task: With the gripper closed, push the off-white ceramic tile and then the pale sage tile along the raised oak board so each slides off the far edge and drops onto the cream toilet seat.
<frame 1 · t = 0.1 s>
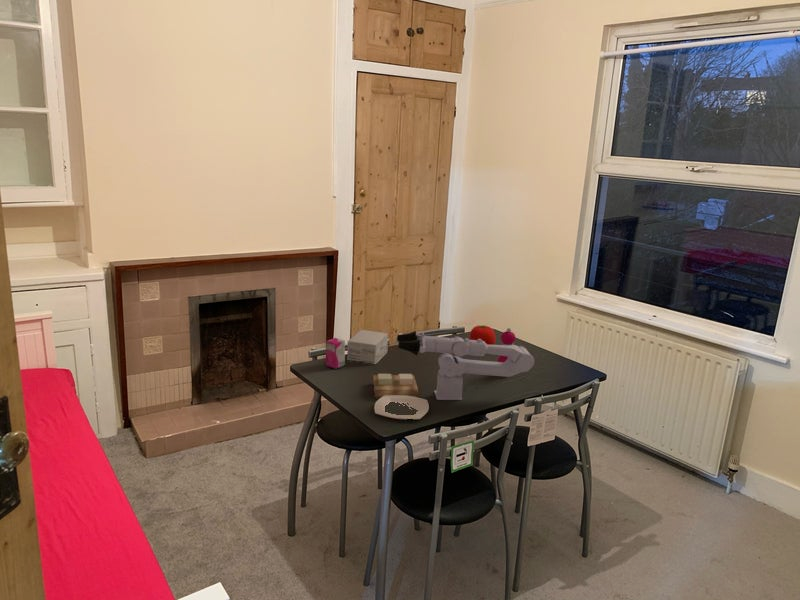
hand: (397, 341, 219), 22 cm above the table, tool horizontal, fingers open, 7 cm apart
pepper mill: (504, 373, 251), on the table
white tile: (405, 382, 229), point 3 cm above the table, touching oak board
oak board: (394, 390, 229), on the table
supplement box 2: (367, 357, 264), on the table
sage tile: (384, 382, 228), point 3 cm above the table, touching oak board
cream toilet seat: (401, 411, 213), on the table
tomato: (481, 348, 281), on the table
supplement box: (335, 366, 251), on the table
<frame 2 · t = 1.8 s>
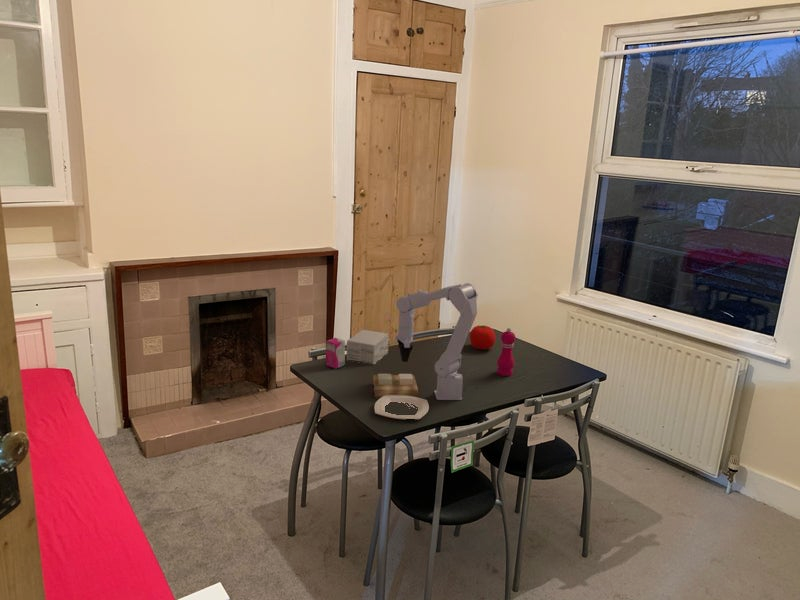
hand: (404, 358, 235), 10 cm above the table, tool pointing down, fingers open, 5 cm apart
nothing on the table moved.
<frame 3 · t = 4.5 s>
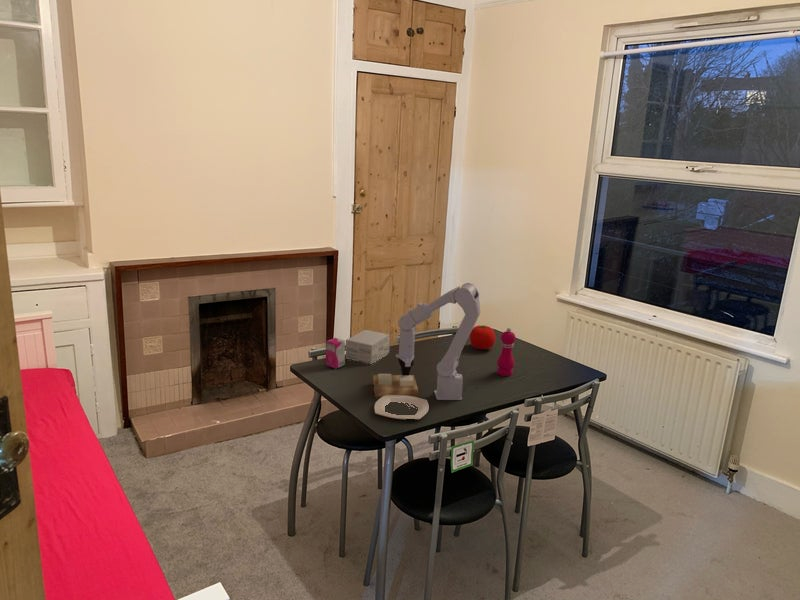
hand: (405, 377, 230), 5 cm above the table, tool pointing down, fingers closed
white tile: (406, 383, 227), point 4 cm above the table, touching gripper
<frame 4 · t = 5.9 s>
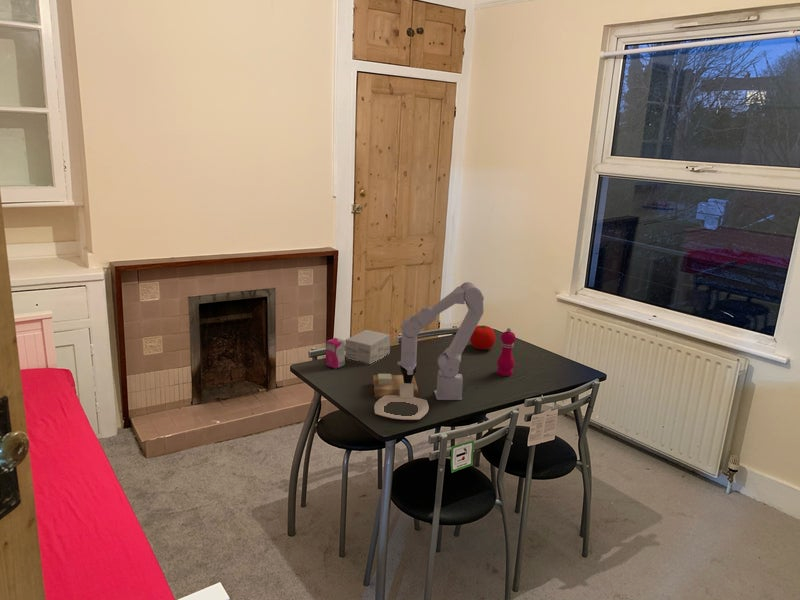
hand: (407, 385, 223), 5 cm above the table, tool pointing down, fingers closed
white tile: (406, 392, 221), point 3 cm above the table, tilted 33°, touching gripper, cream toilet seat
cream toilet seat: (401, 411, 213), on the table, touching white tile
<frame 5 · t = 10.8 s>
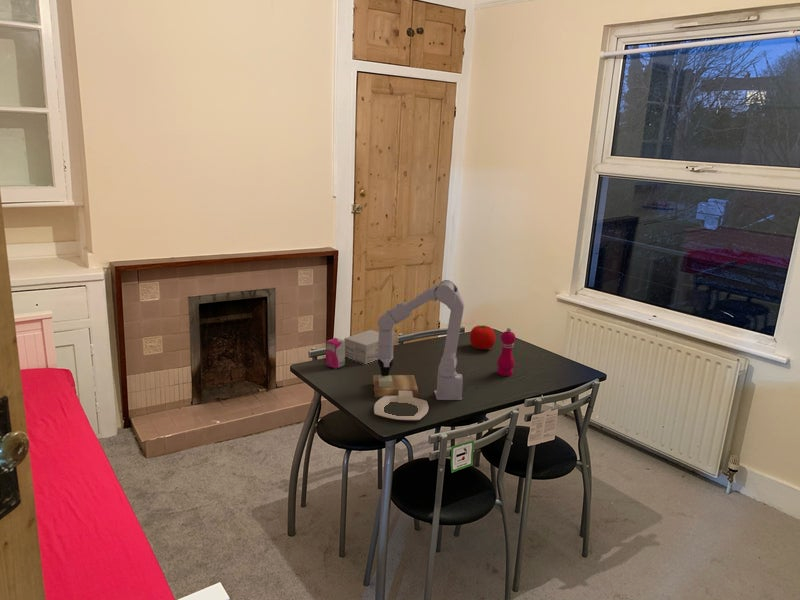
hand: (384, 377, 229), 5 cm above the table, tool pointing down, fingers closed
white tile: (405, 399, 218), point 1 cm above the table, touching cream toilet seat
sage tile: (385, 384, 226), point 4 cm above the table
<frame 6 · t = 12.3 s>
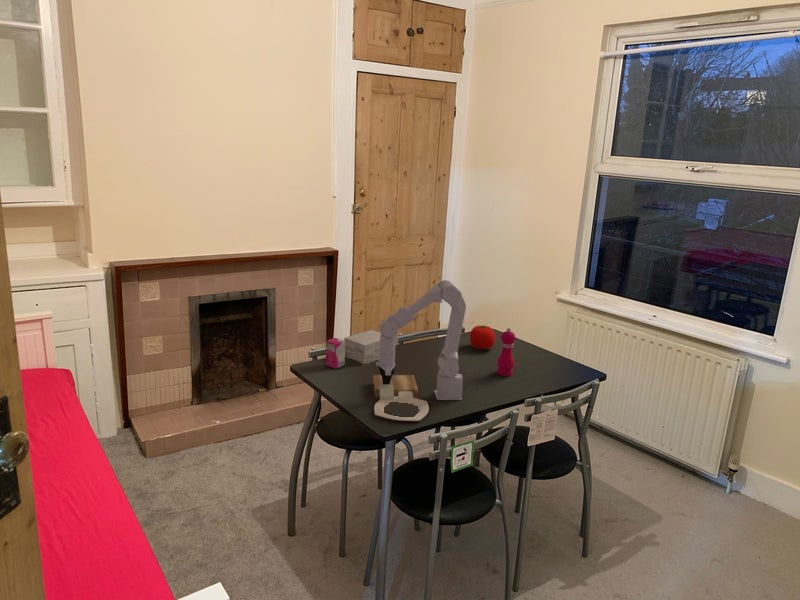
hand: (386, 386, 221), 5 cm above the table, tool pointing down, fingers closed
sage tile: (386, 393, 220), point 3 cm above the table, tilted 29°, touching gripper
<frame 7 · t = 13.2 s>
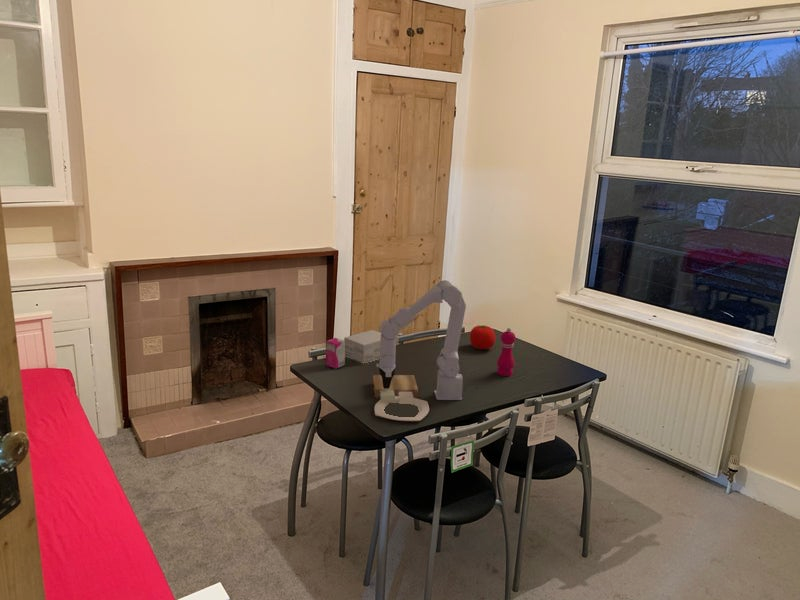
hand: (386, 387, 220), 5 cm above the table, tool pointing down, fingers closed
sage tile: (387, 398, 218), point 1 cm above the table, touching cream toilet seat
cream toilet seat: (401, 413, 212), on the table, touching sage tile, white tile
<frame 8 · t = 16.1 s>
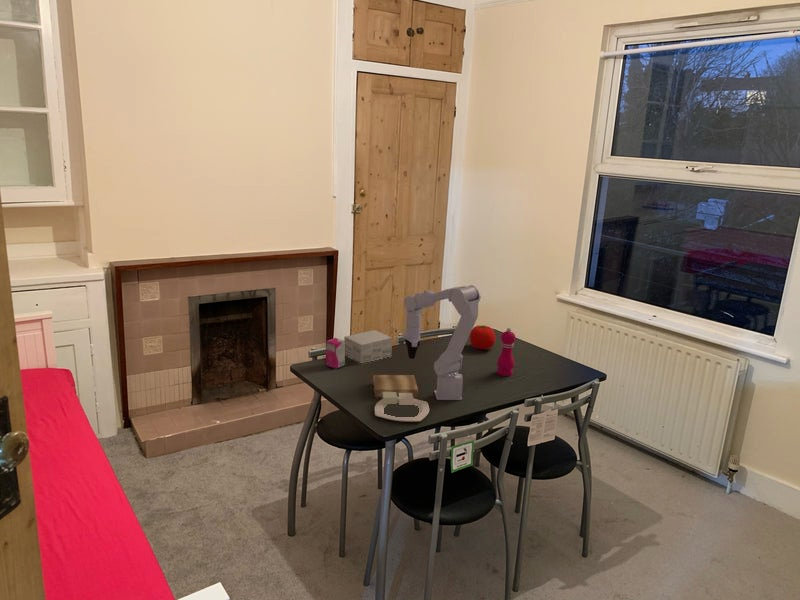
hand: (411, 358, 236), 10 cm above the table, tool pointing down, fingers closed
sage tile: (389, 400, 217), point 1 cm above the table, touching cream toilet seat
at the end: white tile inside the target area on the cream toilet seat (5.5 cm from its centre), point 2.1 cm above the cream toilet seat's base; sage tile inside the target area on the cream toilet seat (7.2 cm from its centre), point 2.2 cm above the cream toilet seat's base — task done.
